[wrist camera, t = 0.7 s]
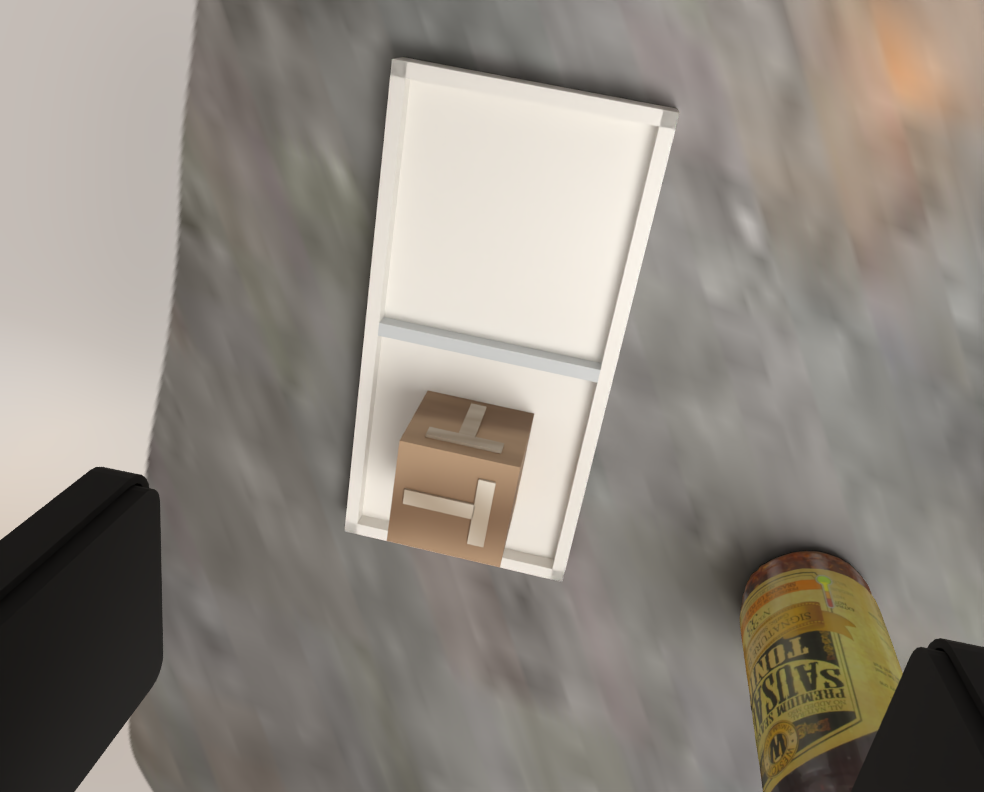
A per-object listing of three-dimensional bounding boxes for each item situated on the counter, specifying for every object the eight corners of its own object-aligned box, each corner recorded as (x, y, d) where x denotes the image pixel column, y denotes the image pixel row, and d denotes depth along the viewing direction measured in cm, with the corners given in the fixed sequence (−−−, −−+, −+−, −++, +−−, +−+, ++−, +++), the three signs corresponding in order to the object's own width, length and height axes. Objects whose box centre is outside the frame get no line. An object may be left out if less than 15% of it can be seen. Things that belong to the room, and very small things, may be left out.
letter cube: (428, 387, 38) (398, 439, 33) (535, 411, 37) (520, 466, 33) (414, 481, 40) (385, 542, 35) (515, 504, 39) (499, 569, 35)
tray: (402, 57, 33) (392, 58, 31) (677, 108, 32) (679, 112, 30) (354, 513, 42) (344, 531, 41) (564, 562, 41) (562, 581, 40)
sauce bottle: (786, 521, 38) (915, 956, 21) (899, 583, 39) (1121, 1062, 21) (706, 614, 41) (759, 1066, 23) (812, 670, 42) (943, 1156, 24)
